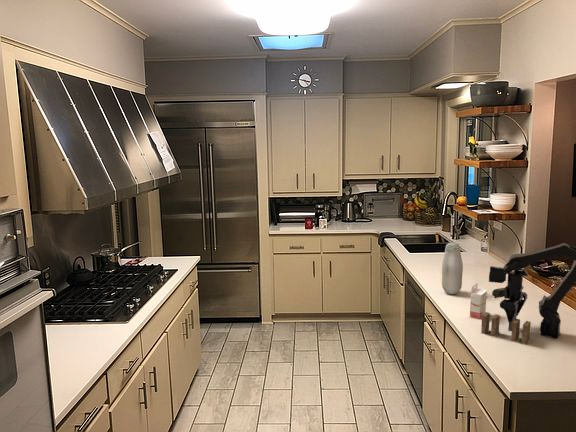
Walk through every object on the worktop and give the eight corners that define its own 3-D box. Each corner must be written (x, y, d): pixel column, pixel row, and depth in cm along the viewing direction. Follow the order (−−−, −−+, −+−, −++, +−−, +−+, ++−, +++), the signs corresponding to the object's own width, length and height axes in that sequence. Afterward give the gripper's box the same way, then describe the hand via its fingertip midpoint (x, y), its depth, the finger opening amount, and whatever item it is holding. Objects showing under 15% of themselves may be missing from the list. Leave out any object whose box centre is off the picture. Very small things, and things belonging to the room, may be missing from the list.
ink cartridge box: (480, 319, 212) (481, 288, 209) (469, 317, 215) (470, 286, 213) (486, 313, 218) (487, 283, 216) (475, 311, 221) (476, 282, 219)
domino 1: (489, 330, 199) (489, 312, 198) (485, 334, 196) (485, 316, 194) (485, 329, 201) (486, 312, 199) (481, 333, 197) (482, 315, 196)
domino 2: (498, 332, 197) (499, 315, 196) (494, 336, 193) (495, 318, 192) (494, 331, 198) (495, 314, 197) (490, 335, 194) (491, 317, 193)
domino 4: (529, 340, 189) (530, 321, 188) (526, 344, 185) (527, 325, 184) (525, 339, 190) (526, 320, 189) (521, 343, 186) (522, 324, 185)
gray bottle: (444, 289, 255) (446, 239, 250) (463, 292, 249) (465, 241, 245) (438, 294, 247) (440, 243, 242) (458, 297, 241) (460, 245, 237)
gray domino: (515, 327, 202) (516, 310, 200) (512, 331, 198) (513, 313, 197) (511, 326, 203) (512, 309, 201) (508, 330, 199) (509, 312, 198)
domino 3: (518, 337, 192) (520, 319, 190) (515, 341, 188) (516, 323, 187) (514, 336, 193) (515, 318, 191) (511, 340, 189) (512, 322, 188)
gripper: (501, 275, 209) (500, 308, 212) (487, 286, 195) (486, 321, 198) (528, 280, 202) (526, 314, 204) (516, 291, 188) (514, 327, 191)
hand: (512, 319), depth 200 cm, fingers open, 9 cm apart
